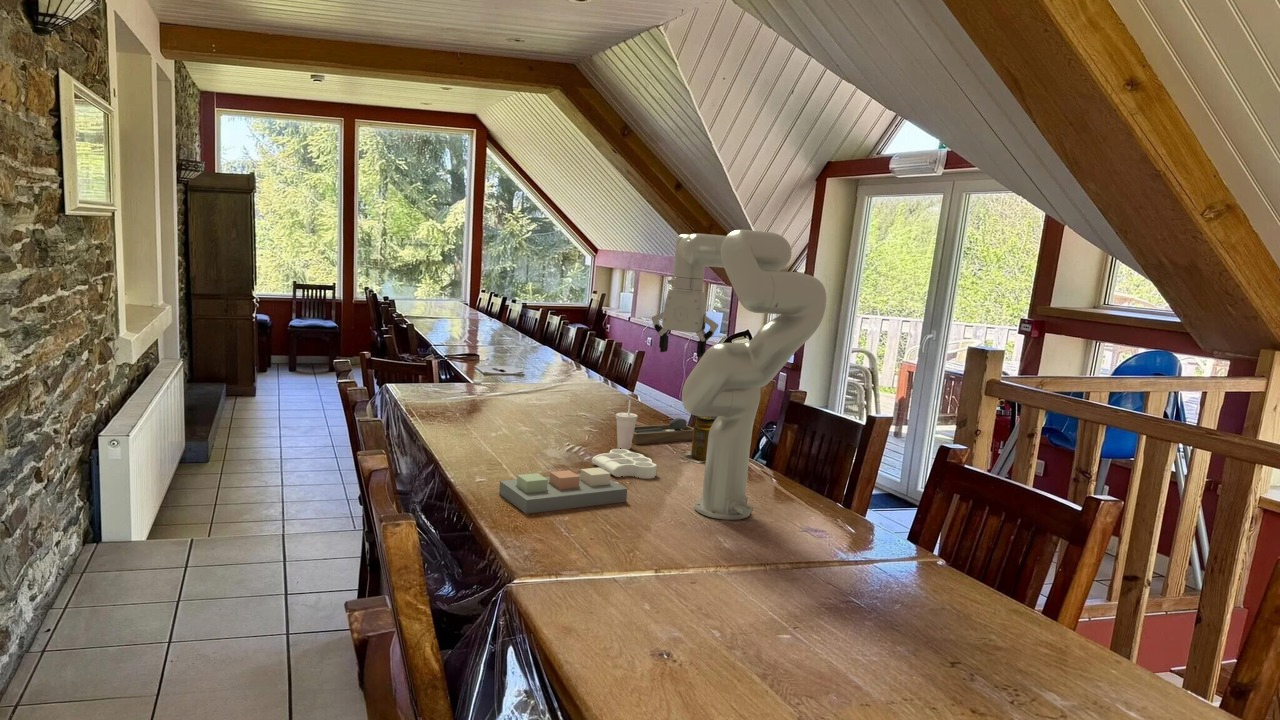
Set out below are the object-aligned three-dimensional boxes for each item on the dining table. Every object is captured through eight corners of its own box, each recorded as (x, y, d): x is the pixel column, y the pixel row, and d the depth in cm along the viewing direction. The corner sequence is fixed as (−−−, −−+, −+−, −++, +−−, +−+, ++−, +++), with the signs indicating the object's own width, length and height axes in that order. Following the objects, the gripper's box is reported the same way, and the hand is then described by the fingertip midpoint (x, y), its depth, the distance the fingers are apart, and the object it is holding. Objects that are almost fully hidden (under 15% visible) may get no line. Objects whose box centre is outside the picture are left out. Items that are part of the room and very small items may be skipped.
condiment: (718, 460, 227) (722, 418, 225) (698, 463, 221) (702, 421, 219) (699, 453, 232) (703, 413, 230) (679, 457, 226) (683, 415, 224)
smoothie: (632, 451, 228) (636, 403, 226) (610, 448, 229) (614, 400, 227) (637, 446, 234) (641, 399, 232) (615, 443, 235) (619, 396, 233)
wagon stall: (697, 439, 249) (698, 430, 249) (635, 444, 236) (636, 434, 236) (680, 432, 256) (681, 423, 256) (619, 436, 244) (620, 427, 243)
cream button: (609, 490, 185) (610, 473, 185) (590, 492, 182) (591, 475, 182) (598, 483, 189) (599, 467, 189) (579, 485, 187) (580, 469, 186)
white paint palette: (585, 463, 213) (632, 459, 221) (619, 482, 198) (668, 478, 206) (586, 450, 213) (633, 447, 221) (620, 469, 198) (669, 465, 205)
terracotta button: (578, 493, 181) (579, 476, 180) (558, 495, 178) (560, 478, 177) (568, 487, 185) (569, 470, 184) (548, 489, 182) (549, 472, 182)
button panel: (626, 501, 183) (627, 488, 182) (525, 513, 169) (526, 500, 169) (595, 483, 194) (596, 471, 194) (499, 493, 181) (500, 480, 180)
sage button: (546, 497, 176) (547, 479, 176) (525, 499, 174) (526, 481, 173) (536, 490, 180) (537, 473, 180) (516, 492, 178) (517, 475, 177)
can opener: (678, 435, 254) (680, 415, 253) (688, 438, 250) (690, 418, 249) (629, 439, 243) (630, 418, 242) (639, 443, 239) (640, 422, 238)
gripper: (649, 282, 198) (643, 351, 200) (716, 288, 191) (709, 360, 193) (661, 282, 204) (655, 348, 207) (726, 288, 198) (719, 357, 200)
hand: (681, 354), depth 200 cm, fingers open, 9 cm apart
